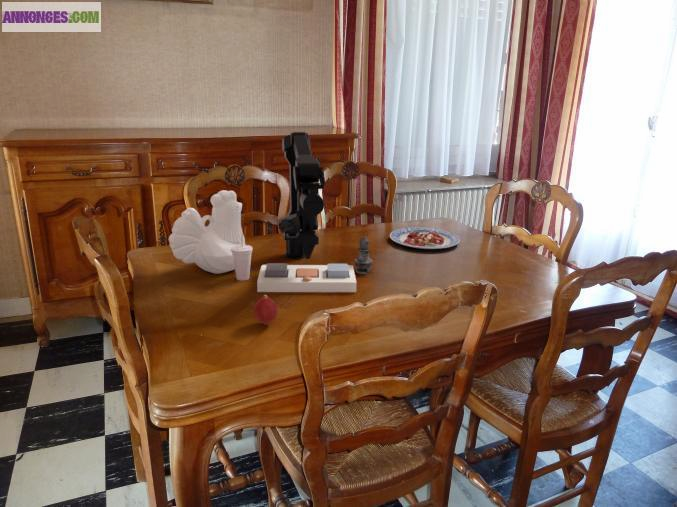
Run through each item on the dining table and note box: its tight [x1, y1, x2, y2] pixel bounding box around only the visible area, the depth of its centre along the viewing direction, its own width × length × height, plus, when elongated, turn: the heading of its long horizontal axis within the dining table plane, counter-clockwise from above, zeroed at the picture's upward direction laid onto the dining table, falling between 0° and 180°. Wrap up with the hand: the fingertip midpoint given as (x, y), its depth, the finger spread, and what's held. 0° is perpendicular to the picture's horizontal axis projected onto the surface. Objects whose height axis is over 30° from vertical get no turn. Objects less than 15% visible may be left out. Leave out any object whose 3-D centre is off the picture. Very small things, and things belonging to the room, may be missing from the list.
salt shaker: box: [354, 234, 374, 275], centre depth 163 cm, size 6×6×12 cm
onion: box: [253, 294, 279, 326], centre depth 128 cm, size 6×6×8 cm
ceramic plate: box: [389, 226, 460, 250], centre depth 195 cm, size 26×26×3 cm
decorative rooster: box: [168, 189, 246, 275], centre depth 159 cm, size 25×16×25 cm, turn 125°
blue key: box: [326, 263, 349, 278], centre depth 154 cm, size 6×6×3 cm
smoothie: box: [231, 232, 254, 282], centre depth 155 cm, size 6×6×14 cm
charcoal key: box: [265, 262, 288, 278], centre depth 154 cm, size 6×6×3 cm
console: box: [256, 264, 357, 293], centre depth 155 cm, size 28×14×4 cm, turn 93°
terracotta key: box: [297, 268, 318, 278], centre depth 154 cm, size 6×6×3 cm
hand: (307, 258), depth 152 cm, fingers closed
